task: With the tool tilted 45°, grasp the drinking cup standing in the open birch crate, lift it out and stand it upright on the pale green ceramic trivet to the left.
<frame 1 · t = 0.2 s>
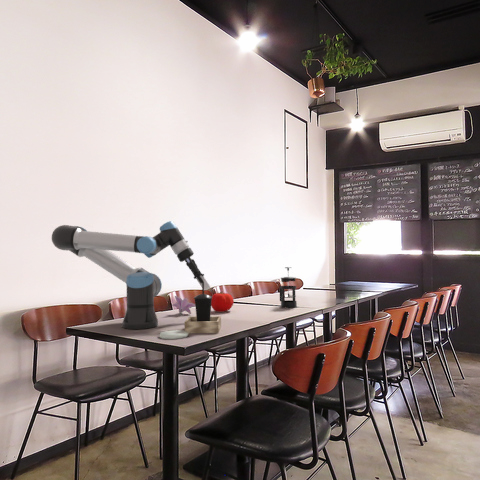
hand: (207, 288, 194), 15 cm above the table, tool tilted 35°, fingers open, 13 cm apart
drinking cup: (203, 330, 172), resting in crate
french press: (288, 307, 239), on the table
lily: (183, 314, 216), on the table
trivet: (173, 336, 160), on the table
crate: (203, 329, 172), on the table
tomato: (222, 312, 224), on the table
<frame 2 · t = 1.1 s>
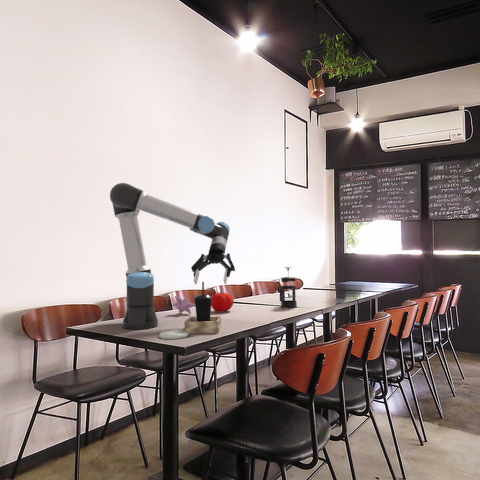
hand: (209, 282, 183), 19 cm above the table, tool tilted 45°, fingers open, 13 cm apart
nothing on the table moved.
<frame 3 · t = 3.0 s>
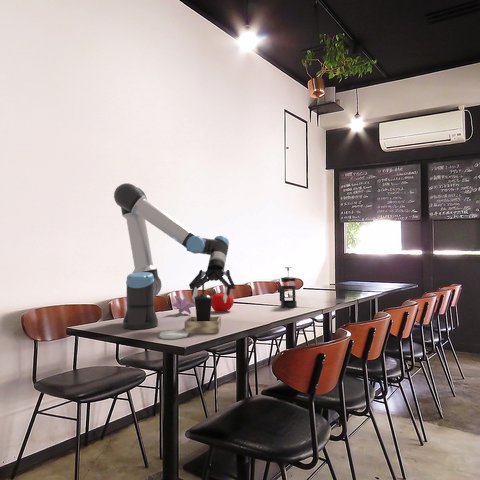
hand: (208, 301, 175), 12 cm above the table, tool tilted 45°, fingers open, 13 cm apart
nothing on the table moved.
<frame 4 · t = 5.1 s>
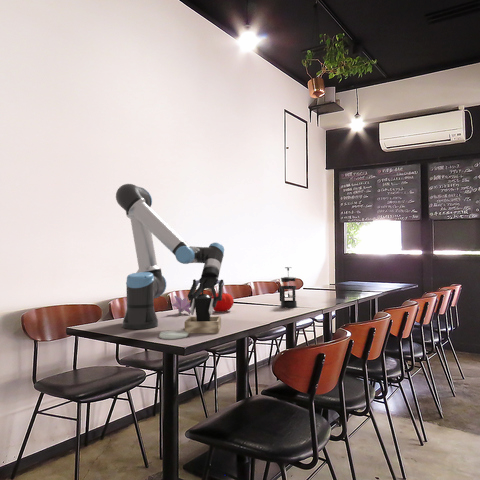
hand: (200, 312, 169), 8 cm above the table, tool tilted 45°, fingers closed on drinking cup, 7 cm apart
drinking cup: (203, 330, 172), resting in crate, touching gripper
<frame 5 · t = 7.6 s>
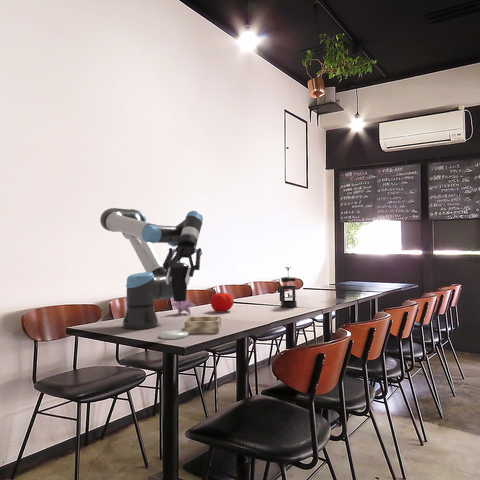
hand: (176, 282, 158), 21 cm above the table, tool tilted 45°, fingers closed on drinking cup, 7 cm apart
drinking cup: (179, 301, 162), point 13 cm above the table, touching gripper
when the fingers open (10 cm above the table, at t = 10.3 s): drinking cup drops 1 cm, resting on trivet.
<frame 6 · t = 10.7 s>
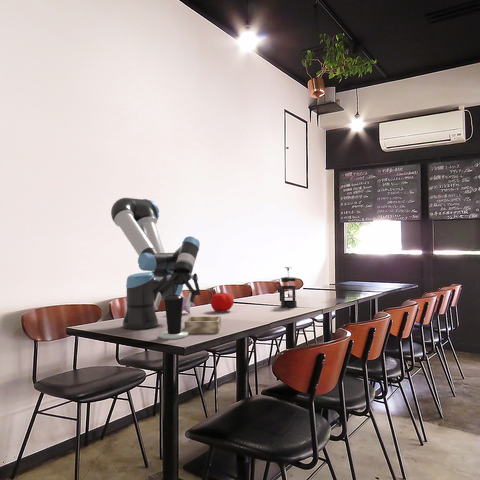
hand: (171, 308, 158), 11 cm above the table, tool tilted 45°, fingers open, 12 cm apart
drinking cup: (174, 333, 160), point 1 cm above the table, touching trivet
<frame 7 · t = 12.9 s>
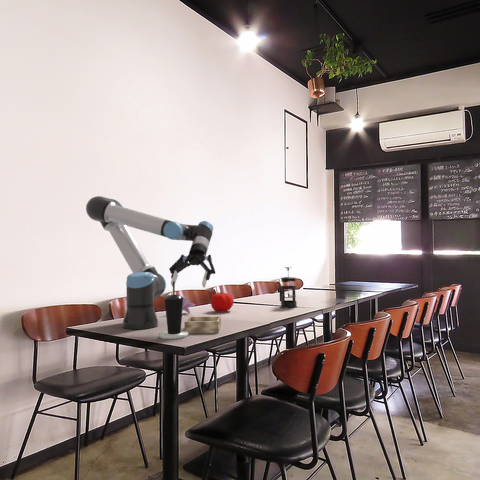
hand: (187, 285, 171), 19 cm above the table, tool tilted 45°, fingers open, 13 cm apart
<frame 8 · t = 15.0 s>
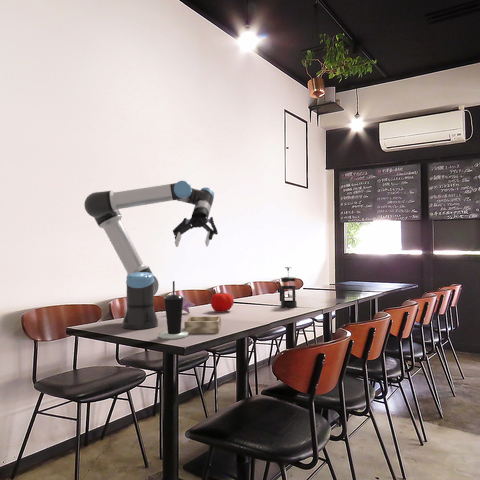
hand: (191, 244, 177), 36 cm above the table, tool tilted 45°, fingers open, 13 cm apart
at the end: drinking cup 0.1 cm from the trivet (horizontally); drinking cup tilted 0°; the gripper is holding nothing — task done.
